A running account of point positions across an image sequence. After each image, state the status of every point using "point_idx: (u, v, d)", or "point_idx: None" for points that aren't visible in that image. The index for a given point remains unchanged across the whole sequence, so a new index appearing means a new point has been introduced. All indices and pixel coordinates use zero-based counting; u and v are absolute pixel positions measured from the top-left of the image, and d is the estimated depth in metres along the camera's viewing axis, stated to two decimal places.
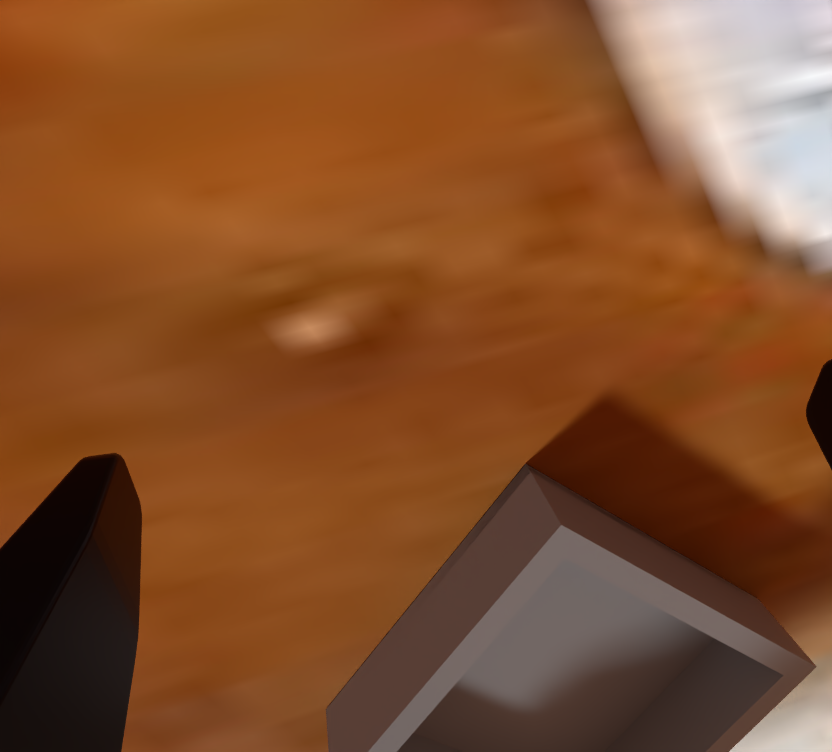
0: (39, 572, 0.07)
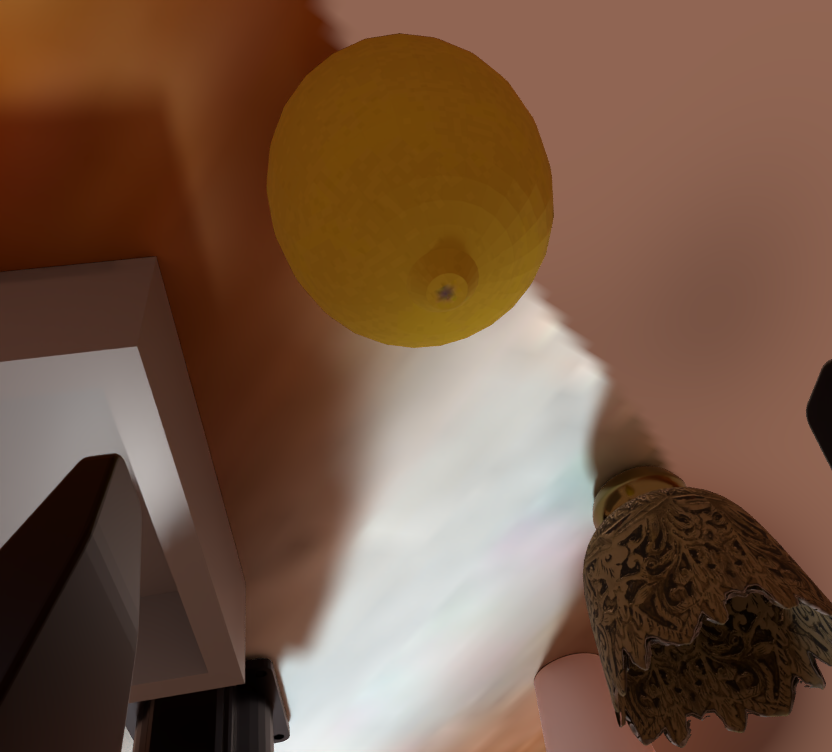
0: (39, 572, 0.07)
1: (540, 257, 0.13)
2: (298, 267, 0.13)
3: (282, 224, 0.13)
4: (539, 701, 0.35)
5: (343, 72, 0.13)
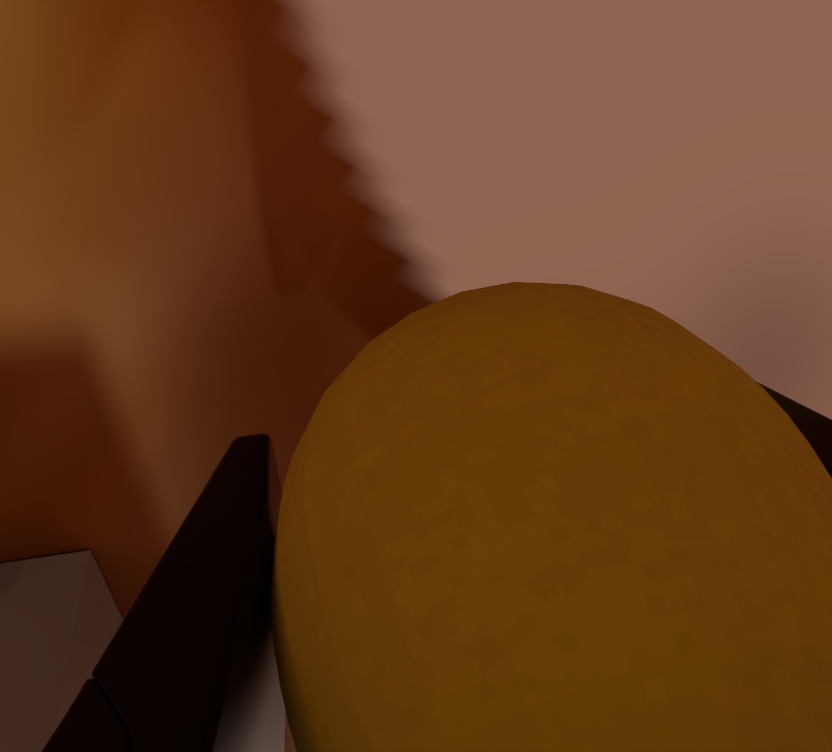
0: (230, 543, 0.07)
1: None
2: None
3: None
4: None
5: (451, 459, 0.05)
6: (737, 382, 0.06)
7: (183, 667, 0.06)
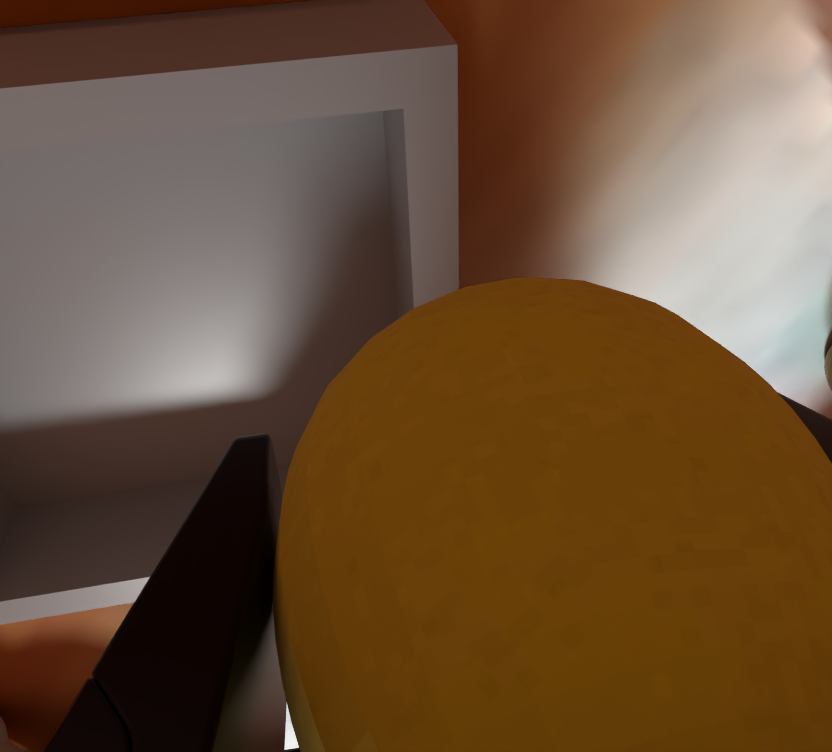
0: (230, 544, 0.07)
1: None
2: None
3: None
4: None
5: (456, 453, 0.05)
6: (742, 376, 0.06)
7: (183, 667, 0.06)
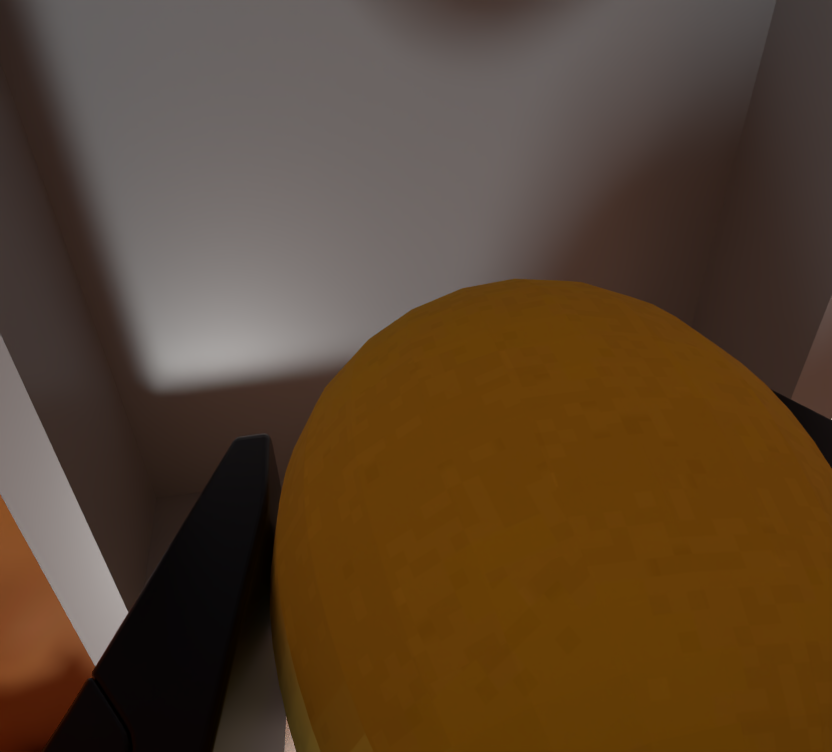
0: (230, 543, 0.07)
1: None
2: None
3: None
4: None
5: (453, 456, 0.05)
6: (740, 378, 0.06)
7: (183, 667, 0.06)
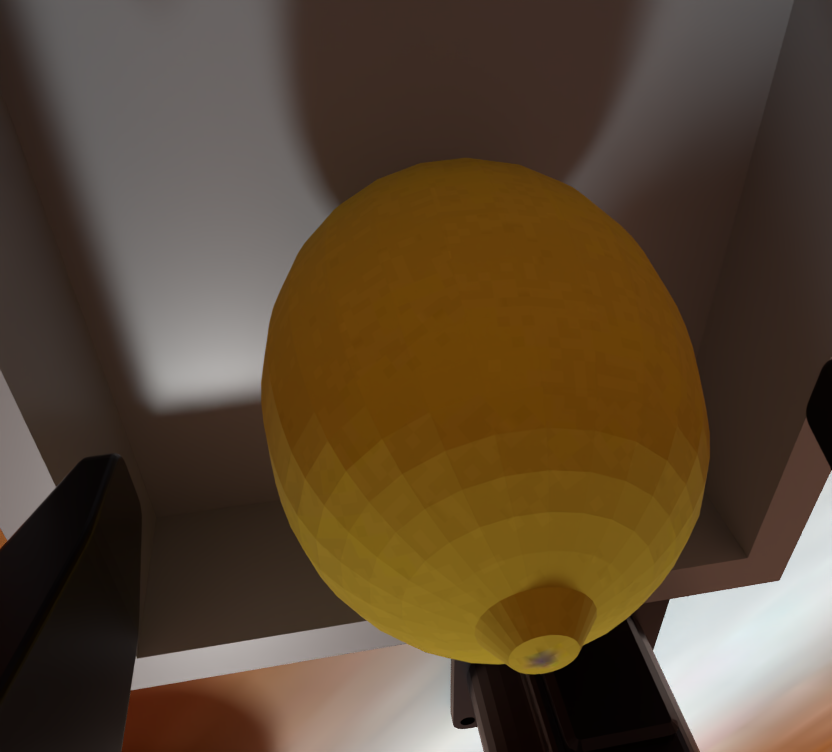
0: (39, 572, 0.07)
1: None
2: (299, 541, 0.08)
3: (277, 472, 0.08)
4: None
5: (387, 245, 0.08)
6: (602, 219, 0.08)
7: None
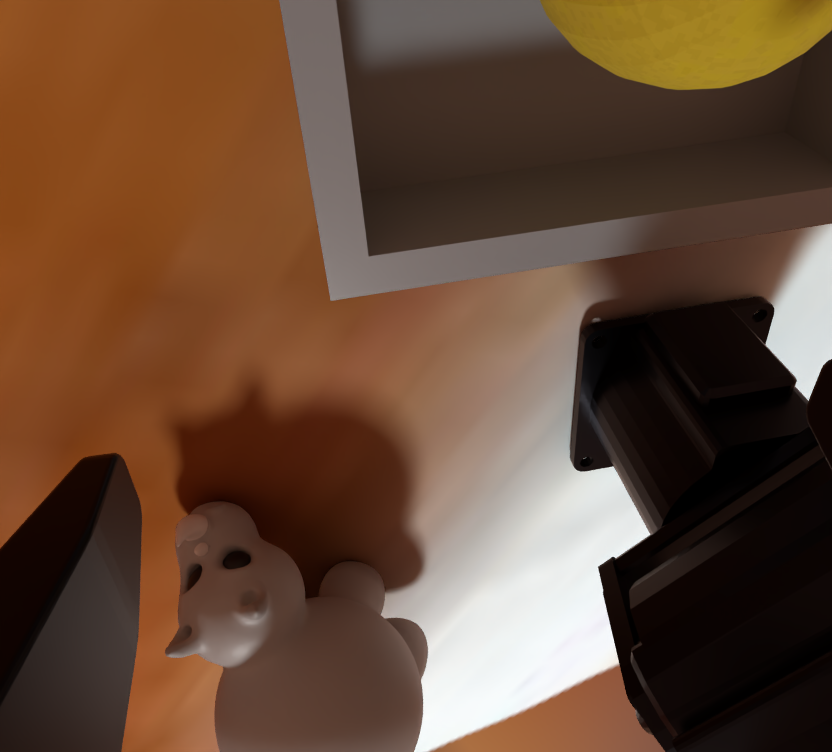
0: (39, 572, 0.07)
1: None
2: None
3: None
4: None
5: None
6: None
7: None
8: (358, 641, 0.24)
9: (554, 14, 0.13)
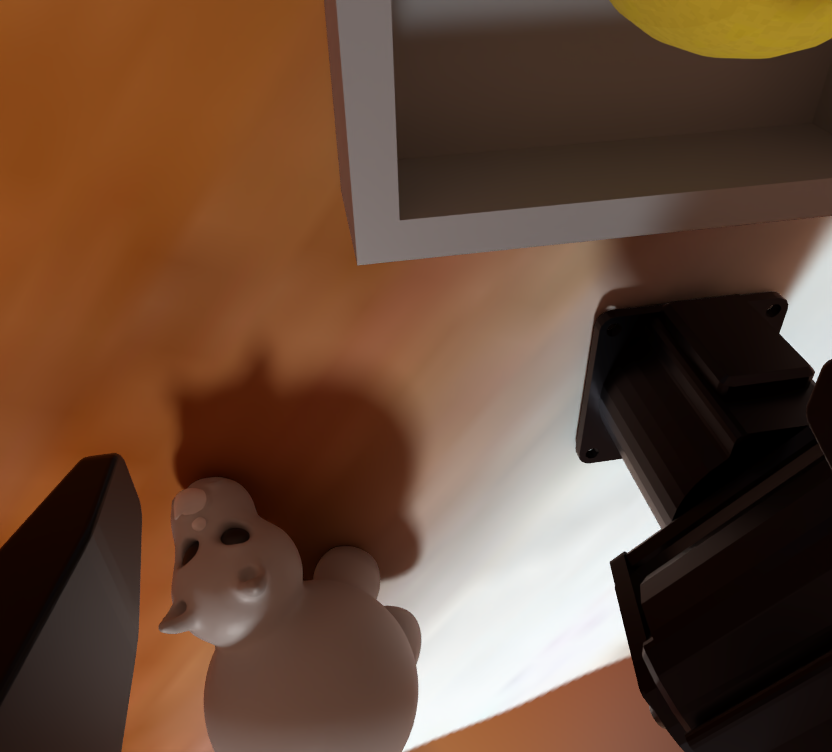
0: (39, 572, 0.07)
1: None
2: None
3: None
4: None
5: None
6: None
7: None
8: (356, 624, 0.24)
9: None
